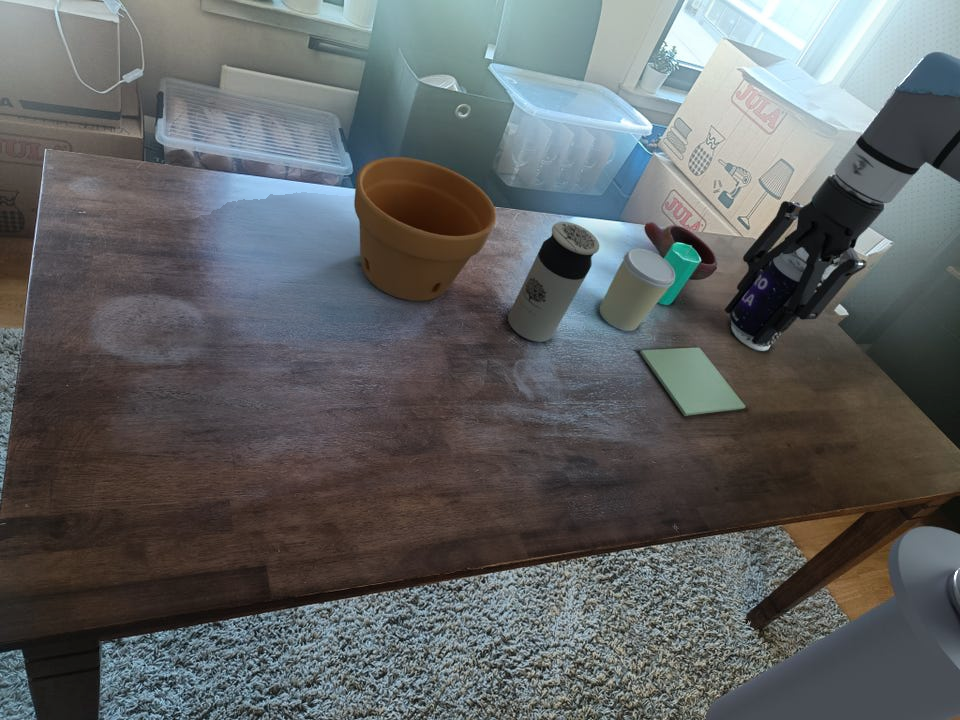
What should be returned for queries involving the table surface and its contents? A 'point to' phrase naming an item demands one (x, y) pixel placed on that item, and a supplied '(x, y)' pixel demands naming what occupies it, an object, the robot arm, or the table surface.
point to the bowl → (676, 233)
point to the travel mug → (553, 281)
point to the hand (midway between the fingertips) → (745, 326)
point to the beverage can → (767, 294)
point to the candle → (680, 269)
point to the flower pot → (418, 225)
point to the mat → (692, 380)
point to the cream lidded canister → (636, 288)
